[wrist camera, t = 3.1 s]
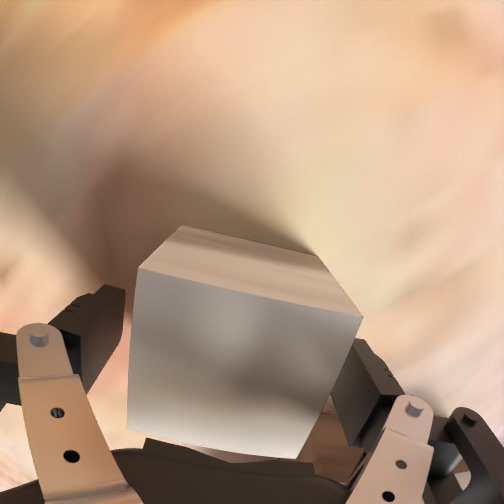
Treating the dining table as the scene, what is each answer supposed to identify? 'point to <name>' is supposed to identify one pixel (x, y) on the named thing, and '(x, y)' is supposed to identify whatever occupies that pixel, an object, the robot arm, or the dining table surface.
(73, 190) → the dining table surface
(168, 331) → the ash cube
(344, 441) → the walnut block
